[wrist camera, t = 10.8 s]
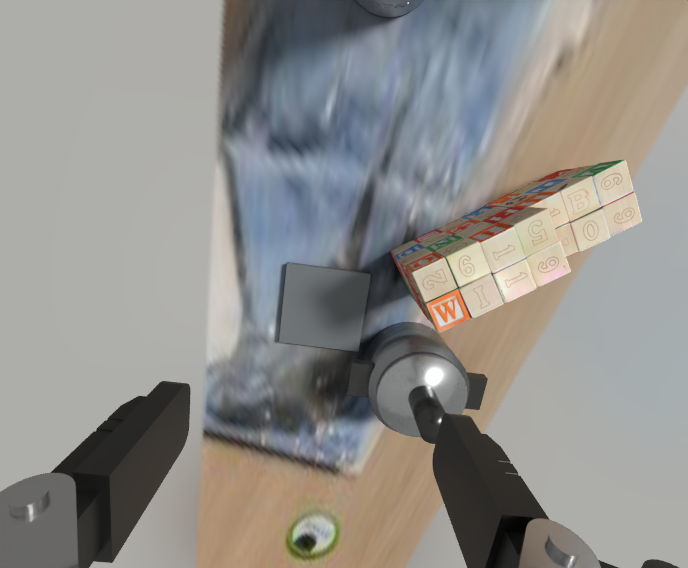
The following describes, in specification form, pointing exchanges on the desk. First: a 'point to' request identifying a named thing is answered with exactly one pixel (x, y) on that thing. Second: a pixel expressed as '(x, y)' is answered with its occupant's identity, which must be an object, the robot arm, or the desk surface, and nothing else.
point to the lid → (420, 394)
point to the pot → (397, 344)
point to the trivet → (323, 306)
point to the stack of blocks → (515, 242)
